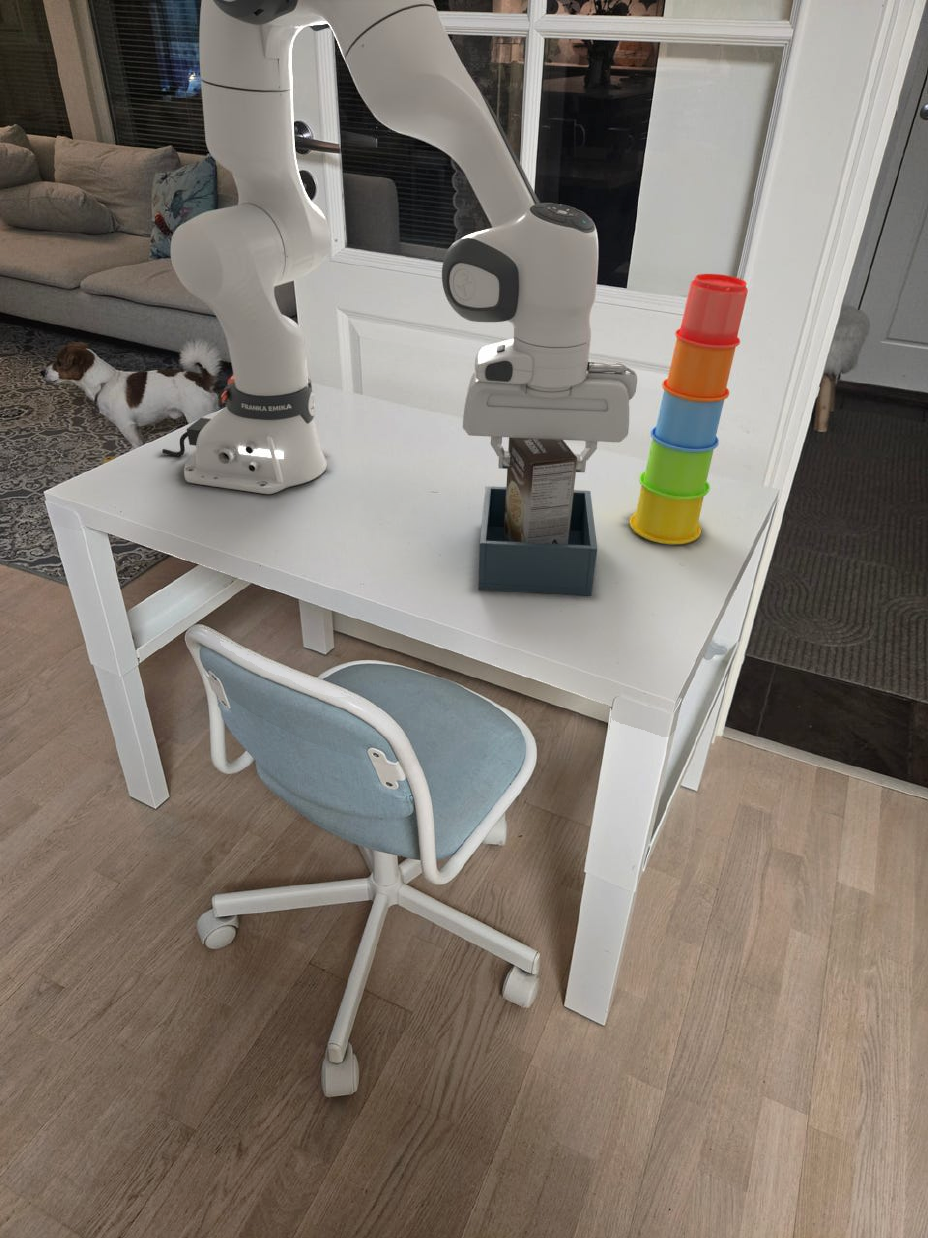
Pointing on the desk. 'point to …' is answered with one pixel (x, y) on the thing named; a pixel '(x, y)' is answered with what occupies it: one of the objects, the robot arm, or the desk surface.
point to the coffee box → (539, 491)
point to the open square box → (537, 552)
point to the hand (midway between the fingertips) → (541, 468)
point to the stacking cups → (690, 412)
